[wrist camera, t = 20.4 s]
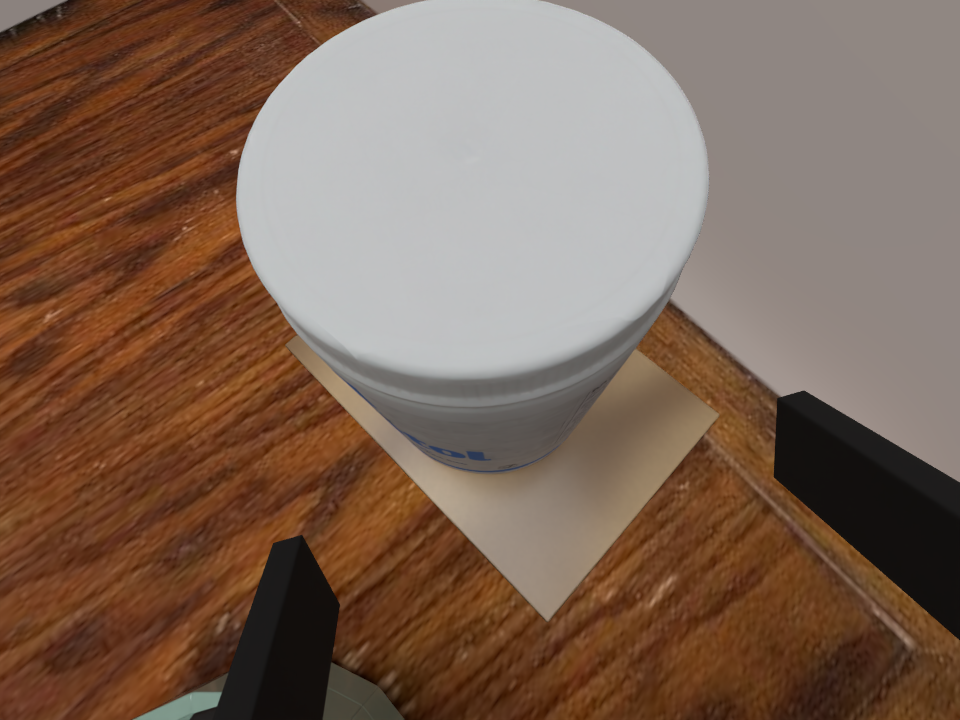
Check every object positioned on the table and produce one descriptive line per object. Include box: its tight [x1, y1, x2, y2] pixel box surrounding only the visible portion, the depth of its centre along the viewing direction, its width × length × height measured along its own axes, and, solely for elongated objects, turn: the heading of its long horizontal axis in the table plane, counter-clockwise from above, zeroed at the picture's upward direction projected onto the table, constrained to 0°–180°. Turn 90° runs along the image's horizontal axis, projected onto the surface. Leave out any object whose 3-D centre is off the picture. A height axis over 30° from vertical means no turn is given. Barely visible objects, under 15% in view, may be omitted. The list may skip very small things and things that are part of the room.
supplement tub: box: [236, 0, 709, 474], centre depth 16 cm, size 10×10×15 cm
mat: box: [285, 334, 719, 622], centre depth 23 cm, size 18×12×1 cm, turn 46°
